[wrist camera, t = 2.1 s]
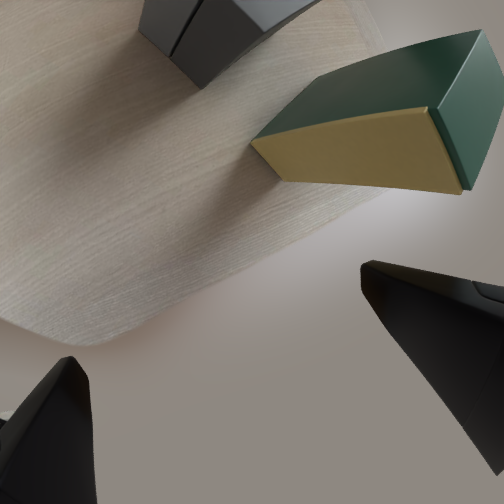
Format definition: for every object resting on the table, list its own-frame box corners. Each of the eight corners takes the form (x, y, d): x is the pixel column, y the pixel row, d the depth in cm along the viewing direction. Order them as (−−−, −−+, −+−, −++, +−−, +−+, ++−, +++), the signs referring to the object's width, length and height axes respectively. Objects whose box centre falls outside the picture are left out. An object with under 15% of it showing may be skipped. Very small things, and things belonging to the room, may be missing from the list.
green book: (281, 181, 22) (469, 197, 9) (247, 143, 20) (433, 111, 8) (344, 111, 23) (509, 90, 10) (317, 76, 21) (482, 27, 9)
